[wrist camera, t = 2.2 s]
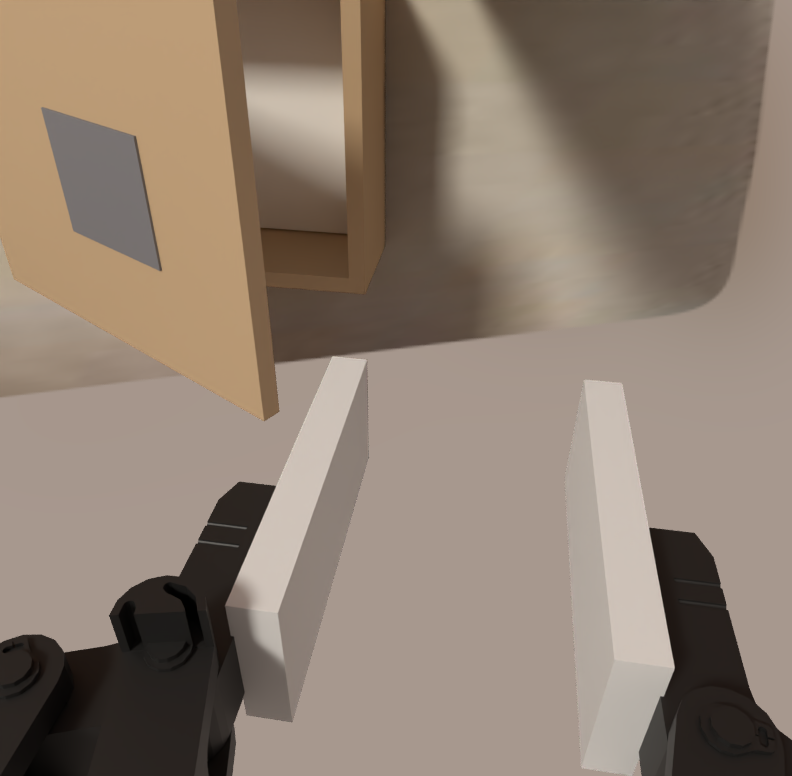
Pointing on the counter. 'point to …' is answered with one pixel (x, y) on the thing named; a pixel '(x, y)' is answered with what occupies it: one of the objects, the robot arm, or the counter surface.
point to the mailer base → (317, 138)
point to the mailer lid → (138, 181)
